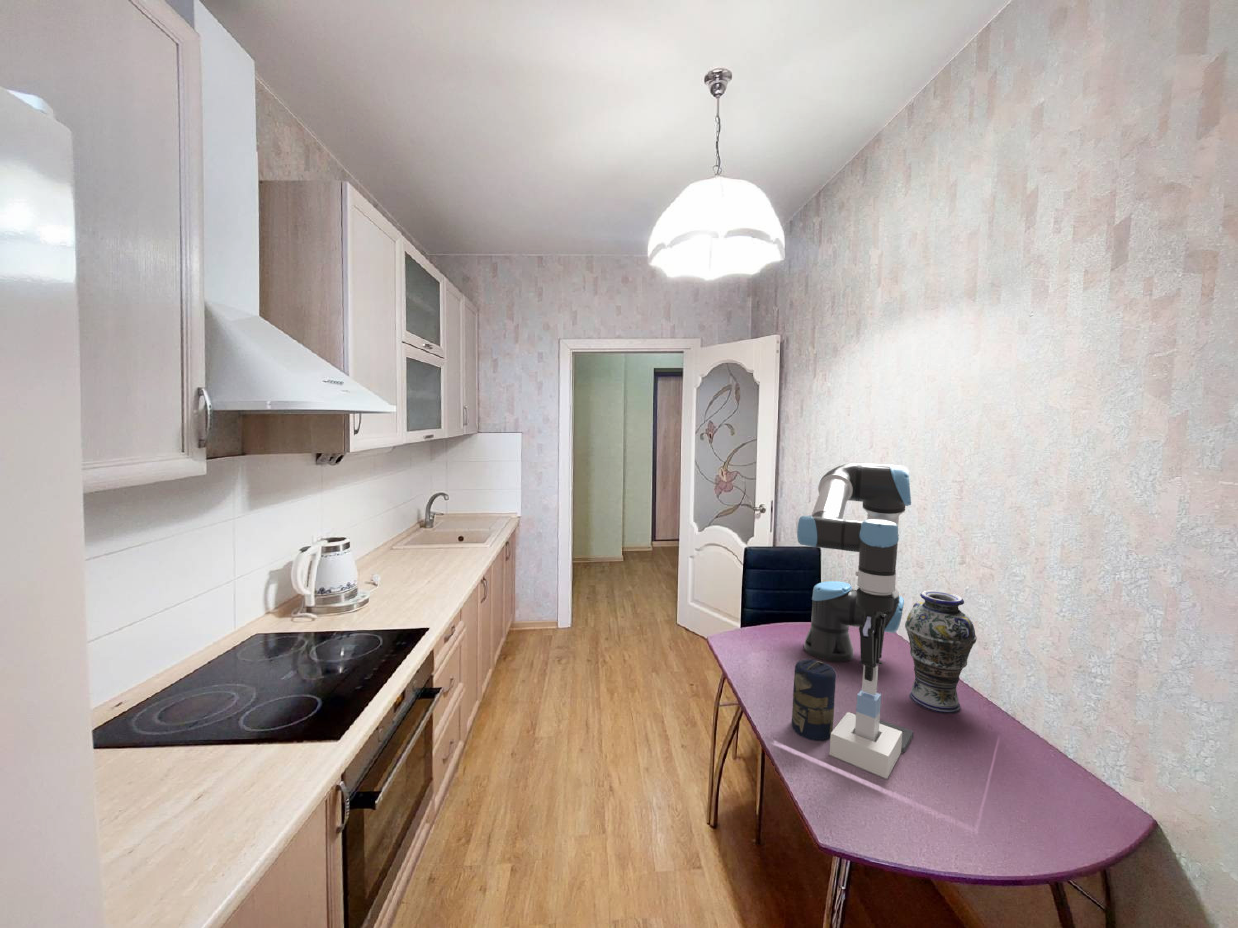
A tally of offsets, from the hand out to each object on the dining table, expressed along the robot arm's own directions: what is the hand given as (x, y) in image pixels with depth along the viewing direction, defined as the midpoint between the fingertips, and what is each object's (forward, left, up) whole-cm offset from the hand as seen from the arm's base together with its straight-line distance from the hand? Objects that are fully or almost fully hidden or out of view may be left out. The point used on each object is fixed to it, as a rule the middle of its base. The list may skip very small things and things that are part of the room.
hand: (869, 691), depth 118 cm
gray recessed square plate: (-11, +2, -16) cm, 19 cm away
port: (0, 0, -16) cm, 16 cm away
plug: (0, 0, -15) cm, 15 cm away
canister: (-1, -13, -16) cm, 20 cm away
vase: (-39, +7, -16) cm, 43 cm away
